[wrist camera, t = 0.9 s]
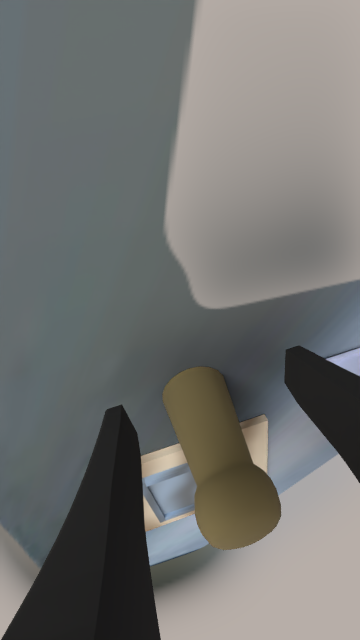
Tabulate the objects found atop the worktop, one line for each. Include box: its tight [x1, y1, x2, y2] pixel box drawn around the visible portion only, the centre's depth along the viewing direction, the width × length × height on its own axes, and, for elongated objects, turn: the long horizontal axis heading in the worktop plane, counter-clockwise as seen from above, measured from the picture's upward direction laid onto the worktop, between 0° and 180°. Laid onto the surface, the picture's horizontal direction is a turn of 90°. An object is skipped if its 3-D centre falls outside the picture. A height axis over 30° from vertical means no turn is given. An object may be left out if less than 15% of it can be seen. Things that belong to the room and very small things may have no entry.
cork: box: [162, 367, 281, 550], centre depth 18 cm, size 6×6×11 cm
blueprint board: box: [141, 415, 268, 532], centre depth 30 cm, size 20×16×1 cm
